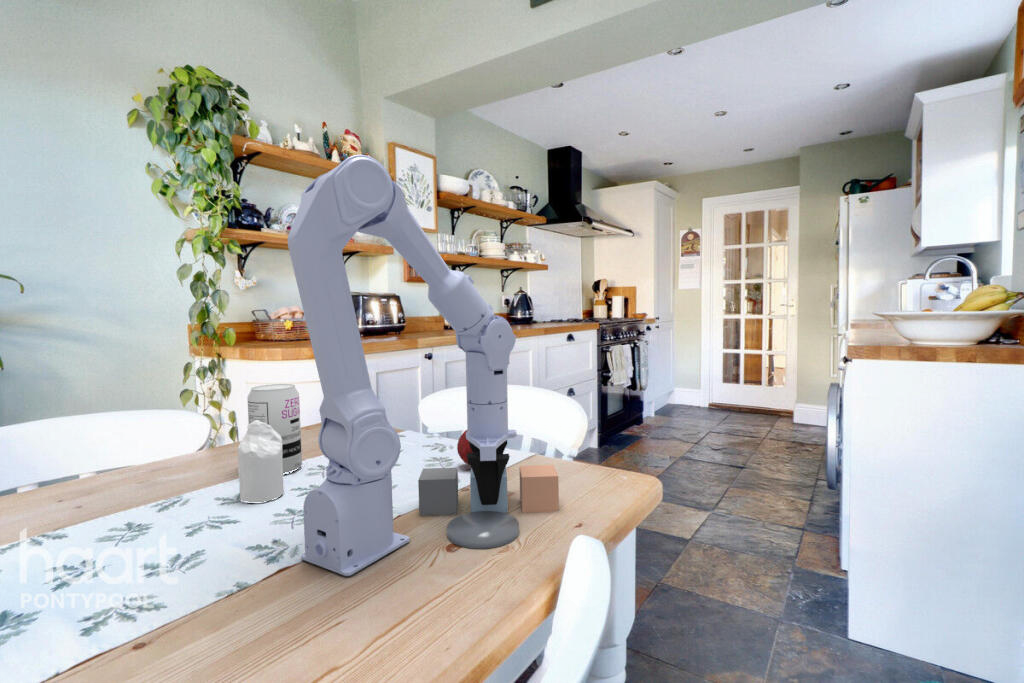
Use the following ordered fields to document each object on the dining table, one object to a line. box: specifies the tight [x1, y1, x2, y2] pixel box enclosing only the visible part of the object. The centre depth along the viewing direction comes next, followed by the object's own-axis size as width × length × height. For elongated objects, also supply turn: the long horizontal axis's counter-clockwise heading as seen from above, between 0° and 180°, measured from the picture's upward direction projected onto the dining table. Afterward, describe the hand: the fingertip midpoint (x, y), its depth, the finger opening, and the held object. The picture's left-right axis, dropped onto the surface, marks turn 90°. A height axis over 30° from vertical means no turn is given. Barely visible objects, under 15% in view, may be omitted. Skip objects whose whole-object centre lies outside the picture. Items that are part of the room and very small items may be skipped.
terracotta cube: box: [519, 464, 560, 514], centre depth 70 cm, size 5×5×5 cm
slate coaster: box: [446, 511, 520, 550], centre depth 62 cm, size 9×9×1 cm
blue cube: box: [469, 466, 509, 514], centre depth 70 cm, size 5×5×5 cm
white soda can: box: [246, 383, 303, 473], centre depth 87 cm, size 8×8×15 cm
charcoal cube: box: [417, 467, 459, 517], centre depth 70 cm, size 5×5×5 cm
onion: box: [456, 429, 473, 466], centre depth 87 cm, size 6×6×8 cm
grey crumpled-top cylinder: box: [237, 420, 285, 502], centre depth 75 cm, size 6×12×6 cm
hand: (489, 496), depth 70 cm, fingers closed on blue cube, 5 cm apart
